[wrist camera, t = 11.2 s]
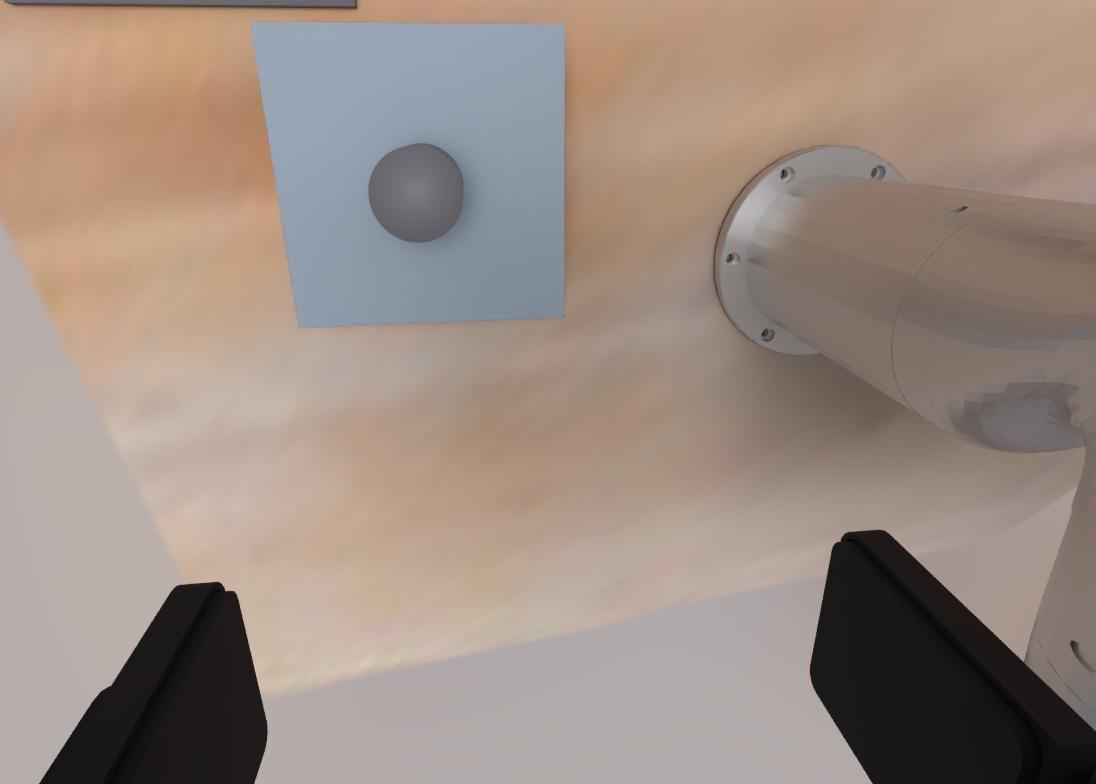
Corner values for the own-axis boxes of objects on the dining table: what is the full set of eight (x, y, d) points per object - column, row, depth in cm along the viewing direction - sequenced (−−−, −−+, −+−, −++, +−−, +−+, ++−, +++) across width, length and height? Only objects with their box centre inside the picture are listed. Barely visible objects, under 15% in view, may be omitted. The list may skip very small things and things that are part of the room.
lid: (562, 27, 29) (584, 4, 23) (562, 313, 34) (580, 348, 28) (255, 24, 27) (204, -1, 22) (302, 323, 32) (269, 362, 27)
